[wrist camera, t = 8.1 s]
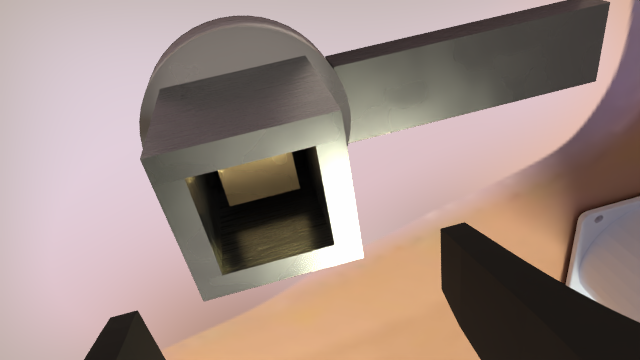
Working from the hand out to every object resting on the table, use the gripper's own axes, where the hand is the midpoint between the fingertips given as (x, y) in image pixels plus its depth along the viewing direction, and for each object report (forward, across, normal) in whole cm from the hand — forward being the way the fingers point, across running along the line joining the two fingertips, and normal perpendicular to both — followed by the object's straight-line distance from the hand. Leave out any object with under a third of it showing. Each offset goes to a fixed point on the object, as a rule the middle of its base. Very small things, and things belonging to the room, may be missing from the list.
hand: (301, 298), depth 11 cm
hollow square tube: (+8, 0, -1) cm, 8 cm away
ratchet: (+9, -5, -1) cm, 11 cm away
